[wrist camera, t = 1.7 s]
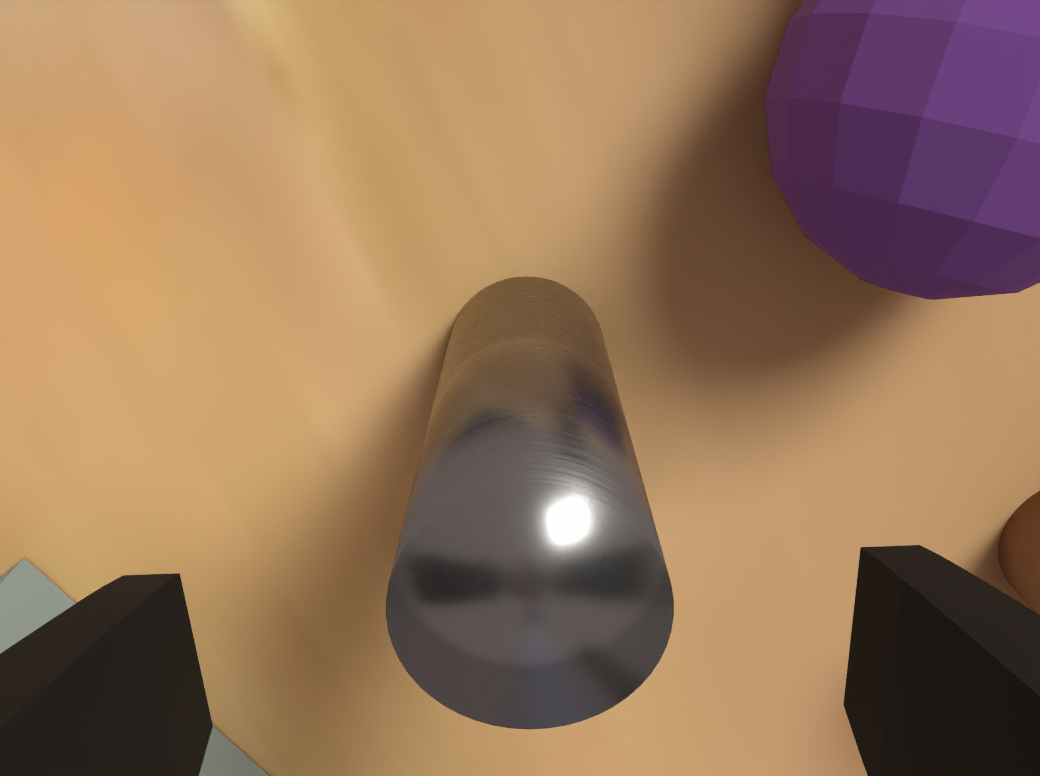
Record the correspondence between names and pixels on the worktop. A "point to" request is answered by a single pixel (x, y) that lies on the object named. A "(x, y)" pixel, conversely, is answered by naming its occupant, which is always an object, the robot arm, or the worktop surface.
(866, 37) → the kendama
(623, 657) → the long pin
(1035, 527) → the short pin
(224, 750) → the hole block
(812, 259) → the worktop surface
